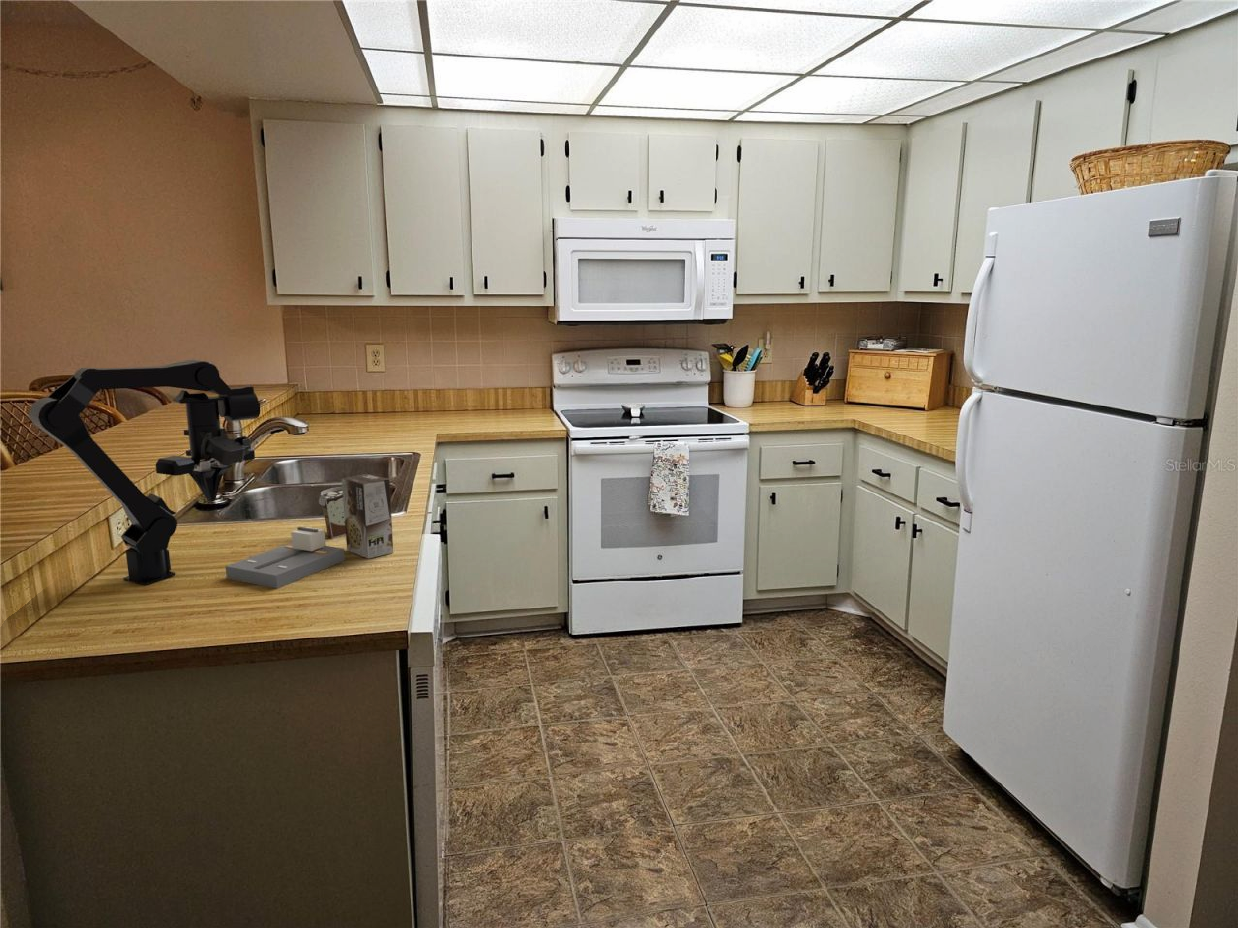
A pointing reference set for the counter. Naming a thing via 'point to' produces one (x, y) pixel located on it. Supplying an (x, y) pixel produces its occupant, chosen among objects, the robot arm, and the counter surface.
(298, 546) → the fader tab
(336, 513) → the food container
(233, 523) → the counter surface
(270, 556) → the fader console
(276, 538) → the counter surface
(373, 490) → the coffee box
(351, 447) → the counter surface
